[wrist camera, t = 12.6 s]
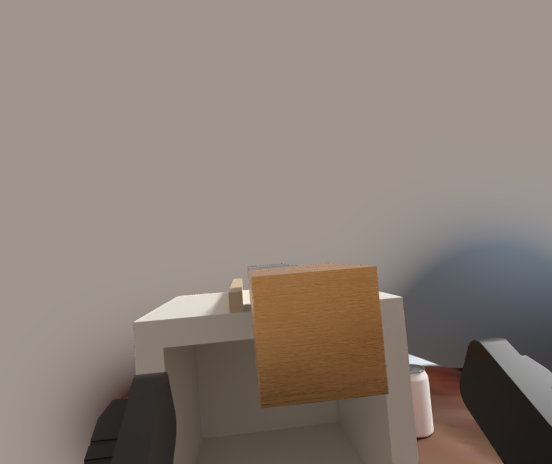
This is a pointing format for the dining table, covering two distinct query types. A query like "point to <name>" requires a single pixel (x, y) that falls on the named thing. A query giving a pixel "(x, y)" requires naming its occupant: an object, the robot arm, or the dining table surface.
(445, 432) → the dining table surface
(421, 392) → the can
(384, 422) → the tall white box
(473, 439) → the dining table surface
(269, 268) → the brown grained square bar
